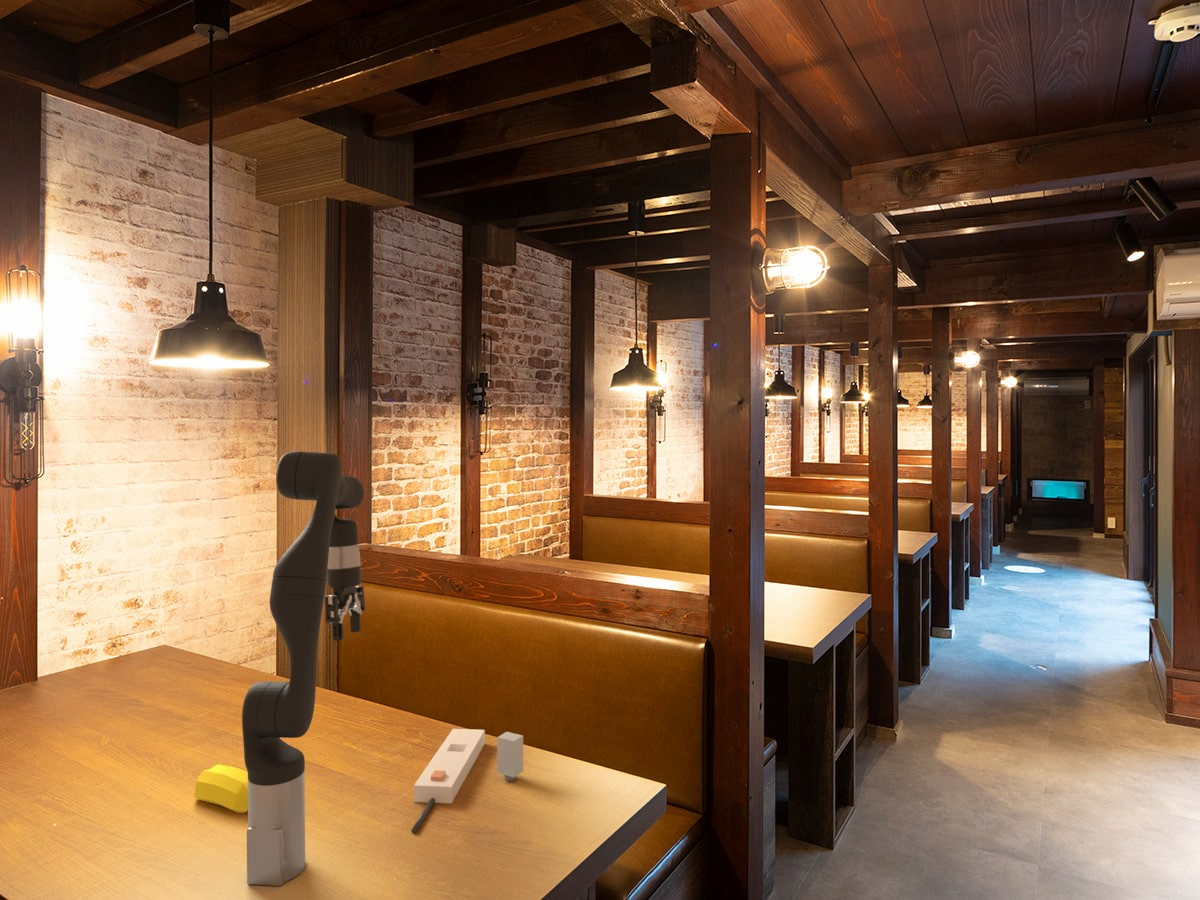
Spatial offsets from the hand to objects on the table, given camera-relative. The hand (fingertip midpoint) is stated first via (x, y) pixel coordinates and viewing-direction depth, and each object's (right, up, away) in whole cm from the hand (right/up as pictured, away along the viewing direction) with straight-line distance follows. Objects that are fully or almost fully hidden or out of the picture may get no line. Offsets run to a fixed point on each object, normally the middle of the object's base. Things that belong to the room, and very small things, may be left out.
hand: (347, 635), depth 175 cm
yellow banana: (-19, -31, -16) cm, 40 cm away
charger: (+38, -31, -5) cm, 49 cm away
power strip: (+24, -30, -7) cm, 39 cm away
